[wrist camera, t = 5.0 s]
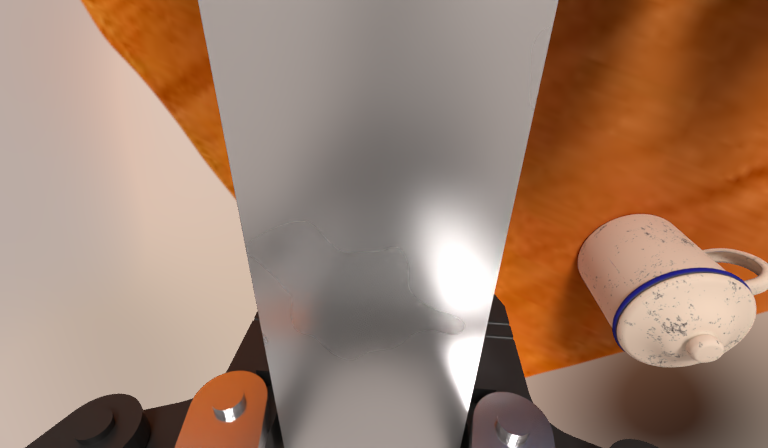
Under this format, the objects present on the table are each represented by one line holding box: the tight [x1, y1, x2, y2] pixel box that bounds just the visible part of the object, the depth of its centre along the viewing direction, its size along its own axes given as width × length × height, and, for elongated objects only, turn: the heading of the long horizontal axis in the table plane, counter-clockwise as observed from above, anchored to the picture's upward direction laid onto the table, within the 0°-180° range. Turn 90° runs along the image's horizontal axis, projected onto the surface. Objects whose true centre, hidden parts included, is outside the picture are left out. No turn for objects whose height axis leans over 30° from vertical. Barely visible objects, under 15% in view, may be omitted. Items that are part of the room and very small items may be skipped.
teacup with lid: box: [578, 214, 768, 367], centre depth 30 cm, size 12×9×12 cm
